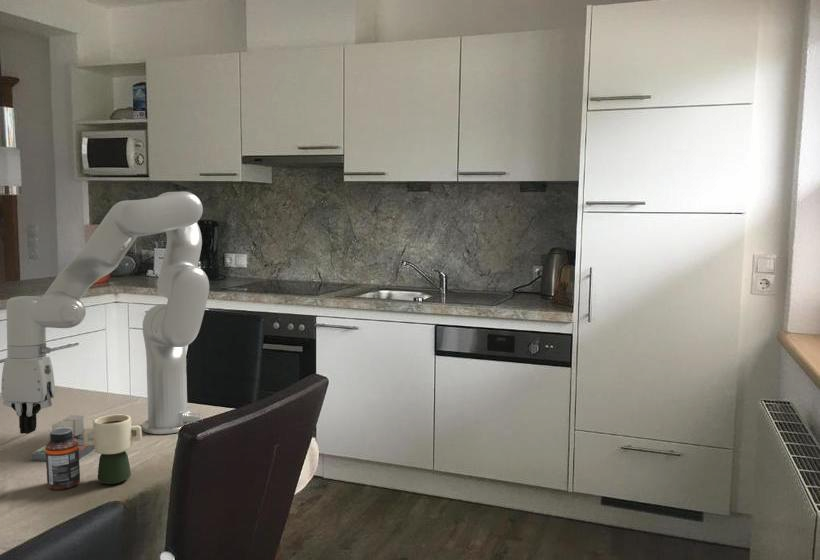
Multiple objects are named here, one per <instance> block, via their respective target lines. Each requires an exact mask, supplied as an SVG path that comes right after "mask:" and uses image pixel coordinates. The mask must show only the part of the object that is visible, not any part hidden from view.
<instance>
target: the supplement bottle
mask: <svg viewBox="0 0 820 560" xmlns="http://www.w3.org/2000/svg"><path fill="white" fill-rule="evenodd" d="M49 439H50V440H49V441H48V442H47V443H46V444H45V445H44V446H45V450H46V461H45V464H46V465H45V468H46V482H47V487H48V488H49V489H51V490H54V491H58V490H59V491H60V490H67V489H70V488H74V487H75V486H78V485H79V483H80V481H81V469H80V459H79V447H78V441H77V440H76V439H75V438H73V433H72V429H70V428H59V429H55V430H52V429H51V431H50V433H49Z"/></svg>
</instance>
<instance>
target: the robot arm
mask: <svg viewBox="0 0 820 560" xmlns="http://www.w3.org/2000/svg"><path fill="white" fill-rule="evenodd" d="M203 210H204V208H203V204H202V202H201V200H200V198H199V197H198V196H197V195H195V194H194V193H192V192H190V191H166V192H163V193H161V194H158V196H156V197H150V198H144V199H132V200H131V199H130V200H121V201H119V202H117V203H115V204H114V205H113V206H112V207H111V208H110V210H109V211H108V212H107V213H106V215H105V216H104V218H103V219H102V221H101V222H100V223H99V225H98V226H97V228H96V229H95V231H94V232H93V234H92V235H91V236H90V238H89V239H88V240H87V242H86V244H85V245H84V246H83V247H82V249H80V251H79V252H77V253H76V255H75V256H74V257H73V258H72V260H70V262H68V263H67V265H65V266H64V268H63V269H62V270H61V271H60V272H59V274H57V276H56V277H55V279H54V280H53V281H52V283H51V284H50V286H49V287H48V289H47V290H46V291H45V293H44V294H43V295H42V297H41V296H36V295H21V296H20V295H19V296H13V297H10V298H8V300H7V302H6V351H7V352H6V353H7V354H6V355H7V356H6V357H5V358H4V362H3V366H2V372H1V373H2V374H1V383H0V387H1V389H0V390H1V398H2V400H3V402H2V404H3V406H5V407H9V408H12V409H13V410H14V411H15V413H16V416H17V417H18V423H19V433H20V435H21V434H25V435H29V434H31V433H33V432H35V431H36V430H37V415H38V413H40V411H41V410H43V409H47V408H49V407H52V405H53V403H52V399H54V397H55V395H56V390H55V389H56V386H55V376H54V375H55V374H54V370H53V369H54V368H53V365H52V361H51V357H50V356H47V354H50V353H51V352H52V350H51V347H48V346H47V342H46V341H47V340H46V339H47V338H46V335H47V334H46V330H47V329H46V328H53V329H70V328H75V327H77V326H79V325H81V324H82V322H83V321H84V319H85V317H86V313H87V312H86V306H85V304H84V302H82V300H81V299H82V297H83V296H84V295H85V294H86V293H87V291H88V289H90V288H91V287H92V286H93V285H94V284H95V283H96V282H97V281H98V280H100V279H102V278H104V277H106V276H107V275H109V274H111V273H112V272H113V271H115V270H116V269H117V268H118V266H119V264H120V263H121V261H122V260H123V258H124V257H125V255H126V254H127V252H128V251H130V250H129V249H130V248H131V247H132V245H133V243H134V242H135V241H136V240H137V239H138V237H146V236H151V235H158V234H161V233H166V244H165V245H166V246H165V250H164V251H165V252H164V255H163V259H162V263H161V265H160V270H159V275H158V278H157V283H156V285H157V286H156V287H157V290H158V292H159V294H161V296H163V297H164V298H166V299H167V302H166V303H163V304H158V305H157V304H156V305H154V306H152V307H150V308H149V309H148V310H147V312H146V313H145V315H144V317H143V319H142V335H143V341H144V346H145V357H146V361H145V362H146V388H147V389H146V390H147V391H146V393H147V420H145V421H144V422H143V423H142V424H141V431H142V432H144V433H148V434H153V435H169V434H175V433H176V434H177V433H179V432H178V430H179V429H180V428H181V427H182V426H183V425H185V424H187V423H191V422H194V421H197V420H200V419H202V420H203V415H202V413H201V412H193V411H192V407H191V406H188V388H187V387H188V386H187V385H188V381H187V354H186V347H187V346H189V345H190V344H192V343H193V342H194V341H195V340H196V338H197V336H198V334H199V333H200V330H201V326H202V322H203V318H204V315H205V310H206V306H207V303H208V298H209V293H210V281H209V277H208V275H207V274H206V272H205V271H204V270H203V269H202V268H200V267H199V263H200V258H201V251H202V246H203V239H202V238H203V236H202V232H201V229H200V226H199V224H198V221H200V219H201V218H202V216H203V213H204V211H203ZM194 423H195V422H194Z"/></svg>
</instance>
